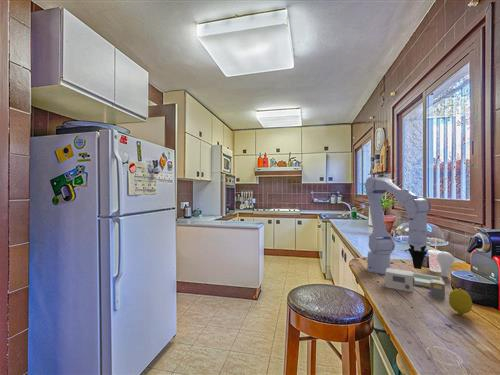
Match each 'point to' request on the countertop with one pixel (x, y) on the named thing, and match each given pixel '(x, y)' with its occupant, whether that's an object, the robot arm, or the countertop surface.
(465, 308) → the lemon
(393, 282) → the control box
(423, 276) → the parts tray
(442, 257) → the lightbulb
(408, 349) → the countertop surface
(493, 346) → the countertop surface
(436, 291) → the block
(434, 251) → the beverage cup
